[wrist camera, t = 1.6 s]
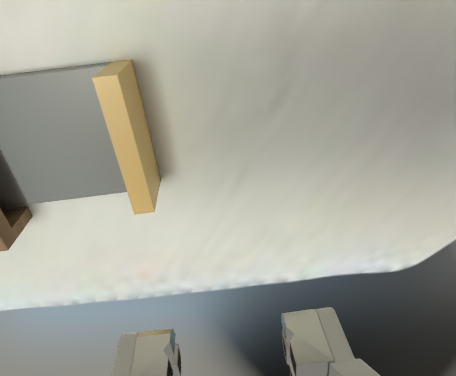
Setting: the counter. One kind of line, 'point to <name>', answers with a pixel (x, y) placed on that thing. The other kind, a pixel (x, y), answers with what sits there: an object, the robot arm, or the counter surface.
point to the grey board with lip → (78, 134)
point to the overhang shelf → (12, 225)
